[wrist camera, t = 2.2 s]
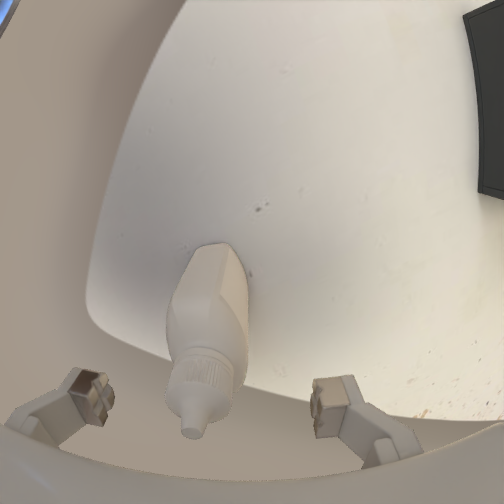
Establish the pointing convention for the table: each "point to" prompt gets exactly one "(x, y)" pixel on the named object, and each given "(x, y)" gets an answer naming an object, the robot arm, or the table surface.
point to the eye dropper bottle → (207, 338)
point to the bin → (489, 92)
